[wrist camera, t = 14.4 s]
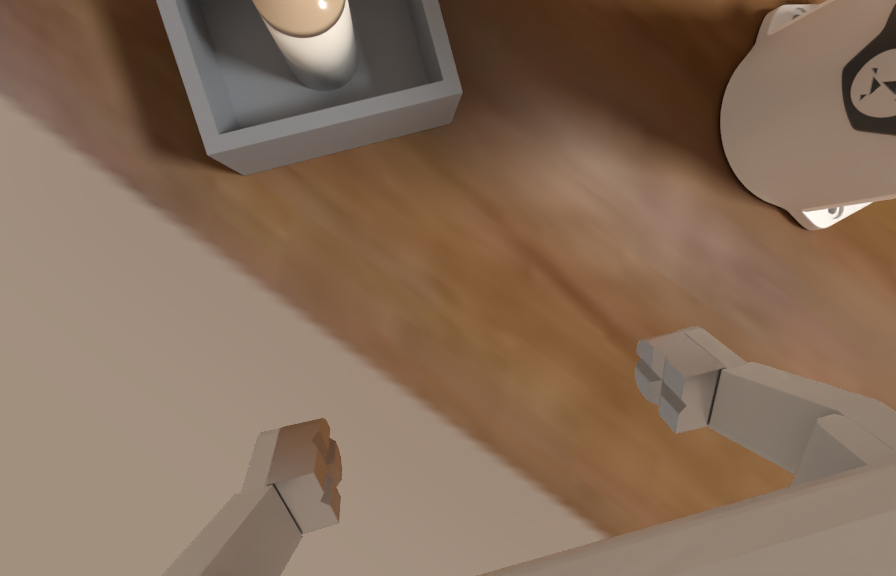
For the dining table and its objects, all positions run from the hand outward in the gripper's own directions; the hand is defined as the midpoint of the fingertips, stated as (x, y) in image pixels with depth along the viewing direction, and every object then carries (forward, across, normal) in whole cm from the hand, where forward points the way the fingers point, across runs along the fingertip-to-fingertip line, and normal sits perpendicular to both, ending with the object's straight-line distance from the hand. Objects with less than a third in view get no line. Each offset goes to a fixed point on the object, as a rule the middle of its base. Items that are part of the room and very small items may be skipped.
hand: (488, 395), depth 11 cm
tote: (+28, +4, -8) cm, 30 cm away
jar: (+28, +4, -9) cm, 29 cm away
